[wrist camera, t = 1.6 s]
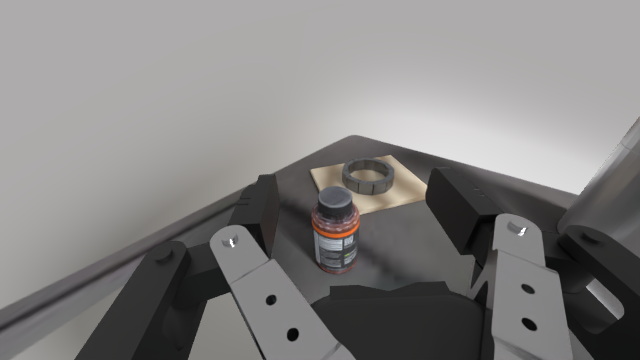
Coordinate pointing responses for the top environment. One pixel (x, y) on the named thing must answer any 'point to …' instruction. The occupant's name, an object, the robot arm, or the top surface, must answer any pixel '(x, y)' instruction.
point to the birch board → (401, 192)
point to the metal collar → (368, 186)
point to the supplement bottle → (335, 230)
